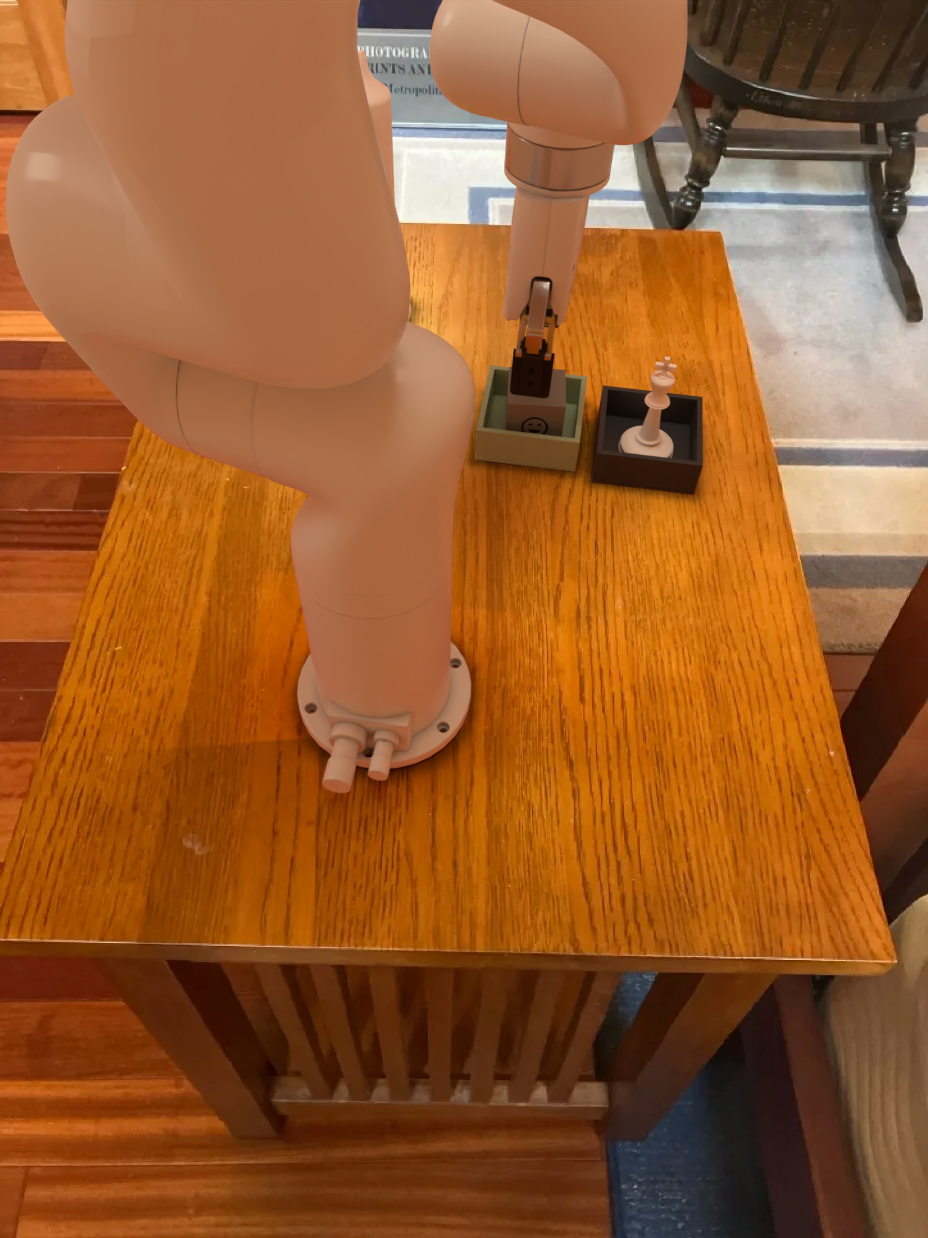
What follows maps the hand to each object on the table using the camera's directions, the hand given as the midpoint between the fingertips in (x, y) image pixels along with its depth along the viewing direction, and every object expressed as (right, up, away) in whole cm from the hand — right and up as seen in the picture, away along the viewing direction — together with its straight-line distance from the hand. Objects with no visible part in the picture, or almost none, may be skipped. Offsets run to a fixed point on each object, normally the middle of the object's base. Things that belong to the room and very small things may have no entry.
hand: (535, 358), depth 78 cm
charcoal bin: (+10, -7, +6) cm, 14 cm away
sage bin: (0, -5, +7) cm, 9 cm away
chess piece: (+10, -7, +6) cm, 14 cm away
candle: (-15, +9, +18) cm, 25 cm away
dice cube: (0, -5, +7) cm, 9 cm away
